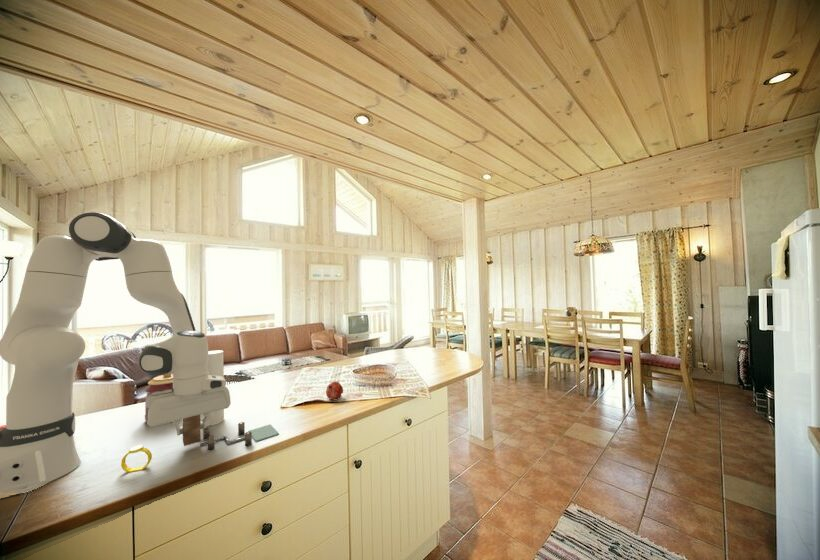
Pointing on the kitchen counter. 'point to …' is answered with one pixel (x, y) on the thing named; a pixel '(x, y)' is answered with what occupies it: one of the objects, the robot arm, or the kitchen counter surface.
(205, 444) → the wire
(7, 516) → the kitchen counter surface
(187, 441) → the block
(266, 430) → the mat
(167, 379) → the canister
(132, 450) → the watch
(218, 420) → the cylindrical container
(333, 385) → the pomegranate
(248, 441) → the gates
